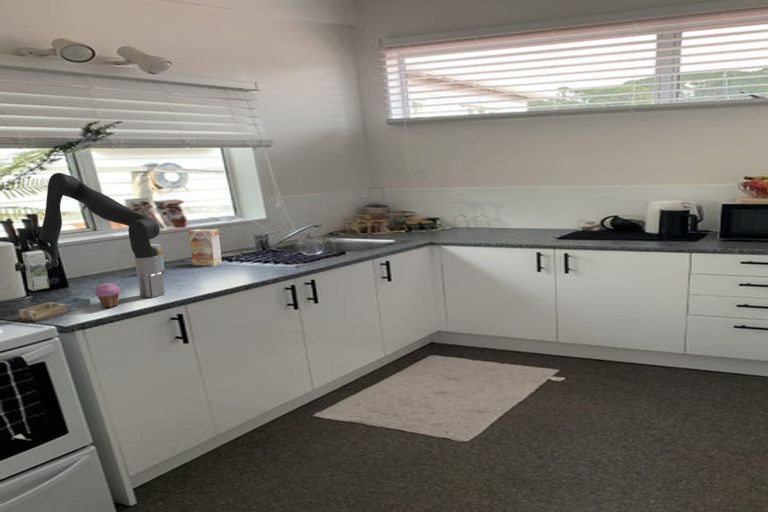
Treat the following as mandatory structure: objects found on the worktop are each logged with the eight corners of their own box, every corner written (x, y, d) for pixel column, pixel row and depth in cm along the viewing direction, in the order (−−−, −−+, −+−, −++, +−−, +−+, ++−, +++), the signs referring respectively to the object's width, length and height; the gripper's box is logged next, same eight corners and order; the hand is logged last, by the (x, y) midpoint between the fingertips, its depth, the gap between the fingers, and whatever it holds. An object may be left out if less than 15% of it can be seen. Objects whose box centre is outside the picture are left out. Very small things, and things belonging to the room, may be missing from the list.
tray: (67, 313, 204) (66, 304, 203) (36, 321, 194) (35, 312, 193) (50, 310, 209) (49, 301, 209) (19, 318, 199) (18, 309, 199)
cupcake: (112, 310, 206) (108, 285, 204) (92, 309, 207) (88, 285, 205) (126, 303, 214) (123, 280, 212) (108, 303, 216) (104, 280, 214)
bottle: (150, 274, 271) (146, 246, 268) (150, 272, 278) (146, 244, 275) (164, 273, 274) (161, 244, 271) (164, 270, 280) (161, 243, 277)
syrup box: (44, 286, 204) (38, 249, 201) (50, 288, 200) (44, 250, 197) (28, 289, 200) (21, 252, 197) (33, 291, 196) (26, 253, 193)
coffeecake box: (192, 265, 292) (188, 230, 288) (201, 262, 299) (197, 228, 295) (214, 266, 287) (210, 230, 283) (222, 263, 293) (218, 229, 289)
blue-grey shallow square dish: (90, 304, 215) (89, 299, 215) (66, 311, 206) (65, 305, 206) (76, 302, 220) (75, 297, 219) (51, 309, 211) (50, 303, 211)
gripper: (16, 254, 207) (10, 260, 192) (58, 249, 213) (55, 255, 199) (20, 272, 208) (13, 280, 194) (61, 267, 215) (58, 274, 200)
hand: (34, 267), depth 196 cm, fingers closed on syrup box, 7 cm apart
